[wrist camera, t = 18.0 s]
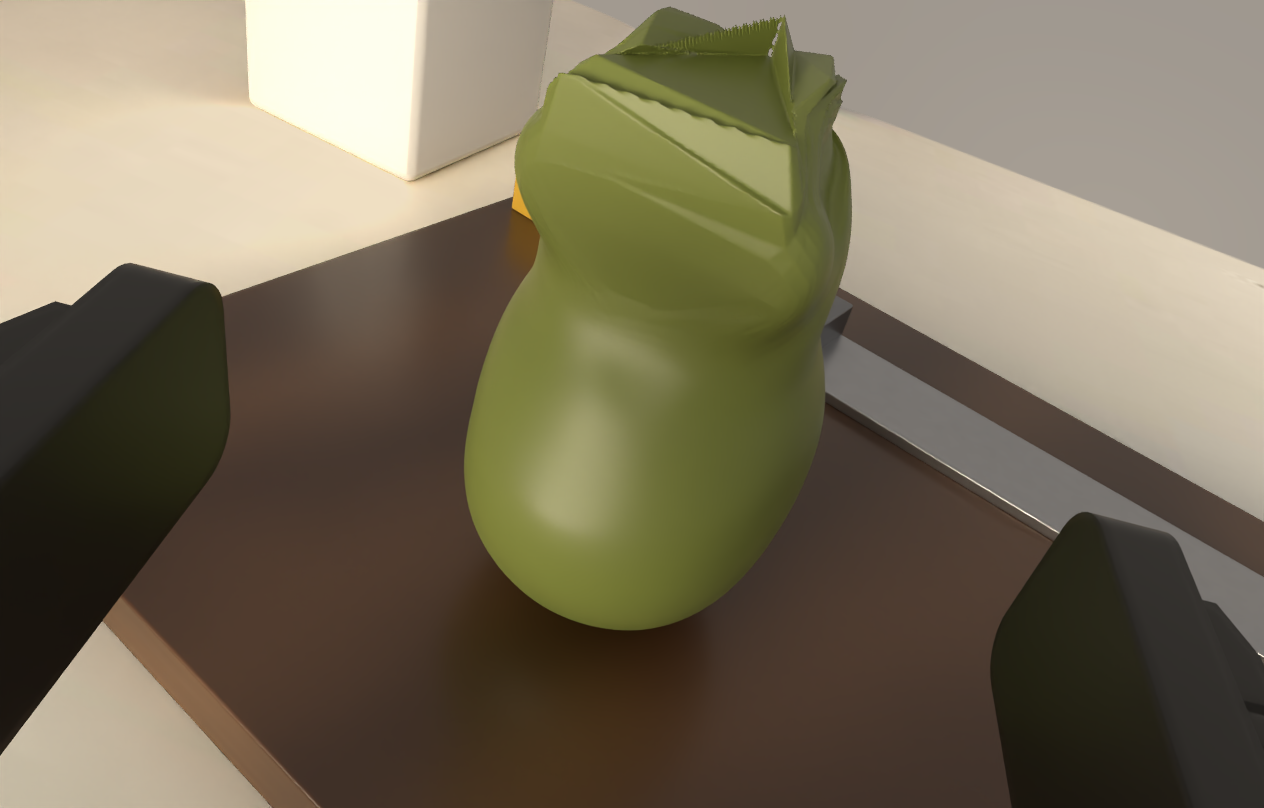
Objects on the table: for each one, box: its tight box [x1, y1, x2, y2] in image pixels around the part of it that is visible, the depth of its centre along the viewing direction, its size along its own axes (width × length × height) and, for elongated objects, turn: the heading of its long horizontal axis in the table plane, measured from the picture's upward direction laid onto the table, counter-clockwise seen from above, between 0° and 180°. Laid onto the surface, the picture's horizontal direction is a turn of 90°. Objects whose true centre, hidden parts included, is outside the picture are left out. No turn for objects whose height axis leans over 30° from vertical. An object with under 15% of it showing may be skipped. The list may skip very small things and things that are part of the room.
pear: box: [464, 7, 852, 630], centre depth 15 cm, size 6×5×10 cm
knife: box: [512, 180, 1264, 664], centre depth 24 cm, size 22×3×2 cm, turn 51°
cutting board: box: [102, 197, 1264, 808], centre depth 21 cm, size 24×20×2 cm
